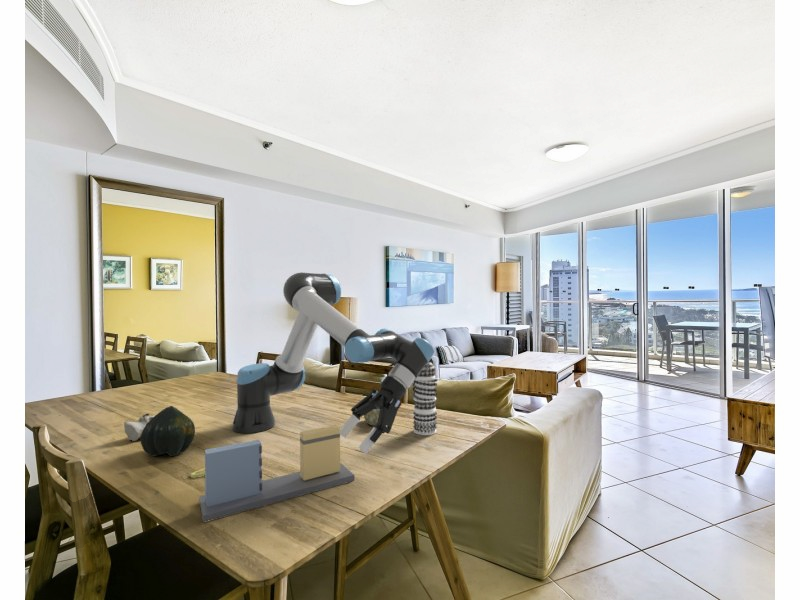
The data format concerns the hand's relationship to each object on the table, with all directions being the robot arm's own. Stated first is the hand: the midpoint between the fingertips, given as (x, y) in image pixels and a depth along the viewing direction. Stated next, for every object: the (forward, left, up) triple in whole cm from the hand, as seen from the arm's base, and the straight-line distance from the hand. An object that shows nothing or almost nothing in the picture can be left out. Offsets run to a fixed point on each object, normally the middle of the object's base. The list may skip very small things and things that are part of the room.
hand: (351, 442), depth 108 cm
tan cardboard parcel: (-6, -6, -6) cm, 11 cm away
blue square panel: (-22, -22, -7) cm, 31 cm away
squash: (-62, +1, -8) cm, 63 cm away
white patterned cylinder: (+15, +37, -8) cm, 41 cm away
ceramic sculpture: (-82, +12, -9) cm, 83 cm away
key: (-38, -10, -9) cm, 40 cm away
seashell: (-5, +42, -8) cm, 44 cm away
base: (-14, -14, -8) cm, 21 cm away
